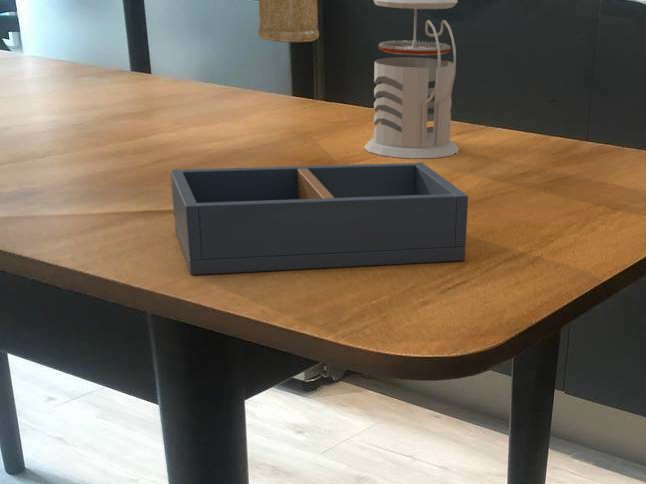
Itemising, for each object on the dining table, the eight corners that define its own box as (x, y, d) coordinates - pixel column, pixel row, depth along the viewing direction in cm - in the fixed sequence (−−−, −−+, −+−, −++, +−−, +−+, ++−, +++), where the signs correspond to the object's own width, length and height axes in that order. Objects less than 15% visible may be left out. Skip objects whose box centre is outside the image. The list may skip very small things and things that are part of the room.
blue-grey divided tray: (190, 275, 71) (185, 206, 69) (175, 232, 80) (170, 169, 78) (465, 260, 76) (468, 195, 74) (420, 221, 85) (422, 162, 83)
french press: (431, 137, 116) (440, -135, 104) (486, 158, 108) (504, -136, 95) (347, 142, 112) (347, -140, 100) (398, 165, 103) (405, -142, 91)
